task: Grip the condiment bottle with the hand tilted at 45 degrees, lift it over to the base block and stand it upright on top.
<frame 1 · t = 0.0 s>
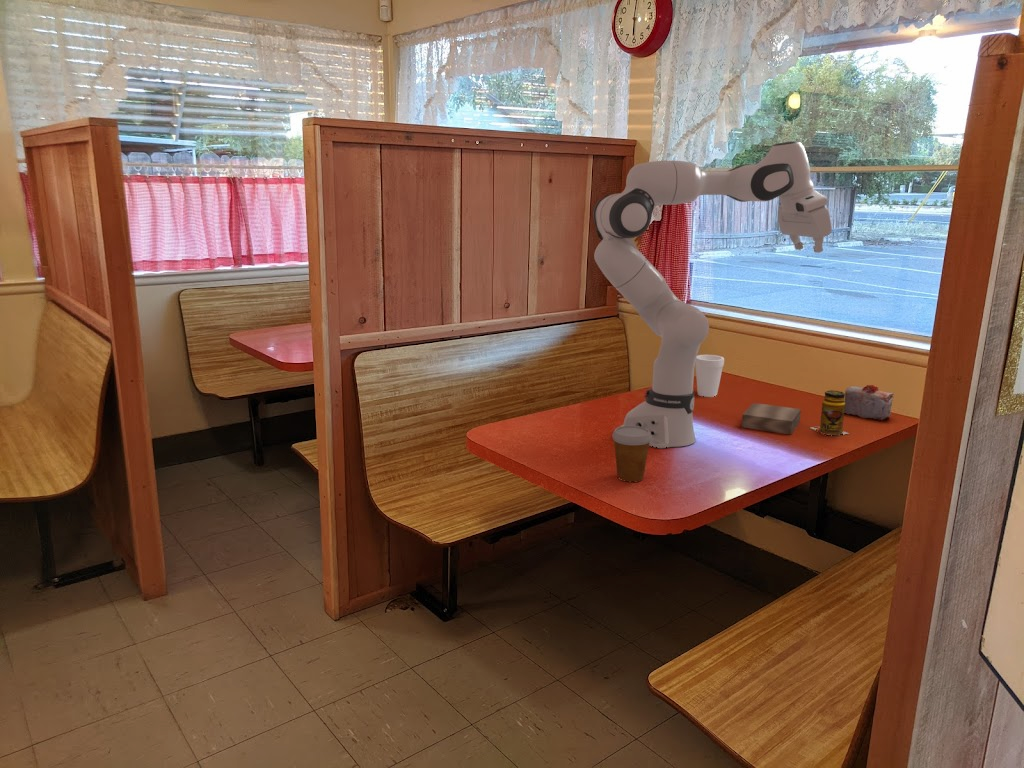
hand: (808, 250, 205), 52 cm above the table, tool tilted 20°, fingers open, 8 cm apart
base: (770, 424, 224), on the table
disposable coffee cup: (630, 478, 183), on the table
food item: (866, 416, 233), on the table
condiment: (829, 431, 218), on the table
foam cup: (707, 395, 257), on the table
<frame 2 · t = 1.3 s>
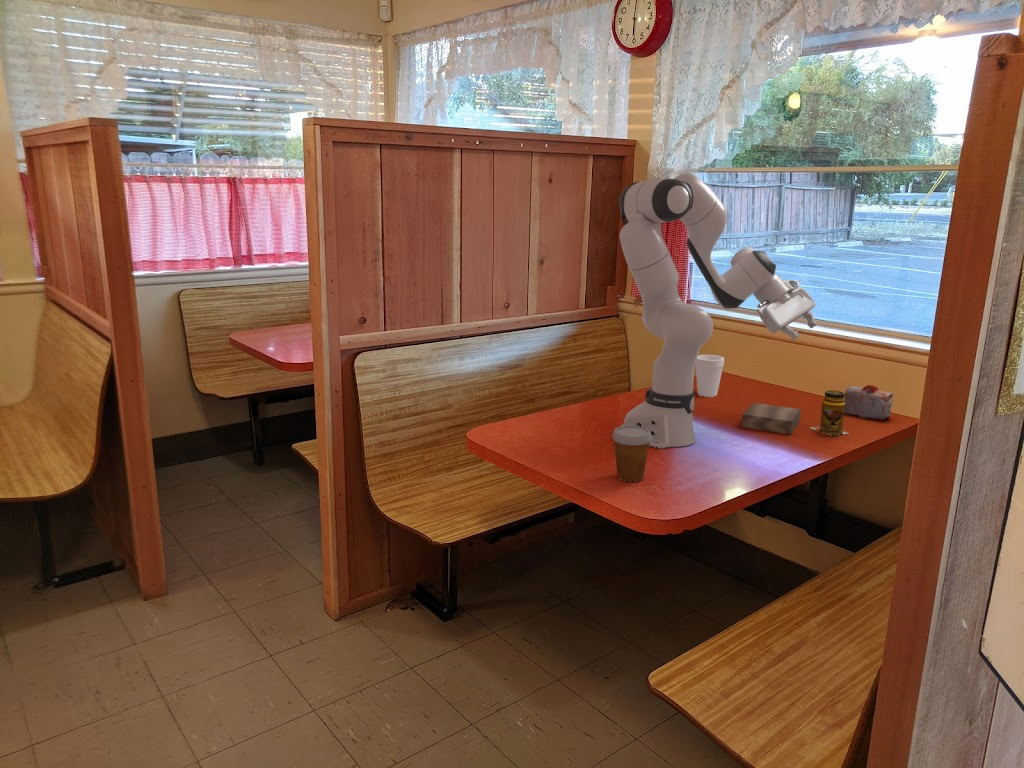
hand: (805, 332, 215), 29 cm above the table, tool tilted 45°, fingers open, 8 cm apart
nothing on the table moved.
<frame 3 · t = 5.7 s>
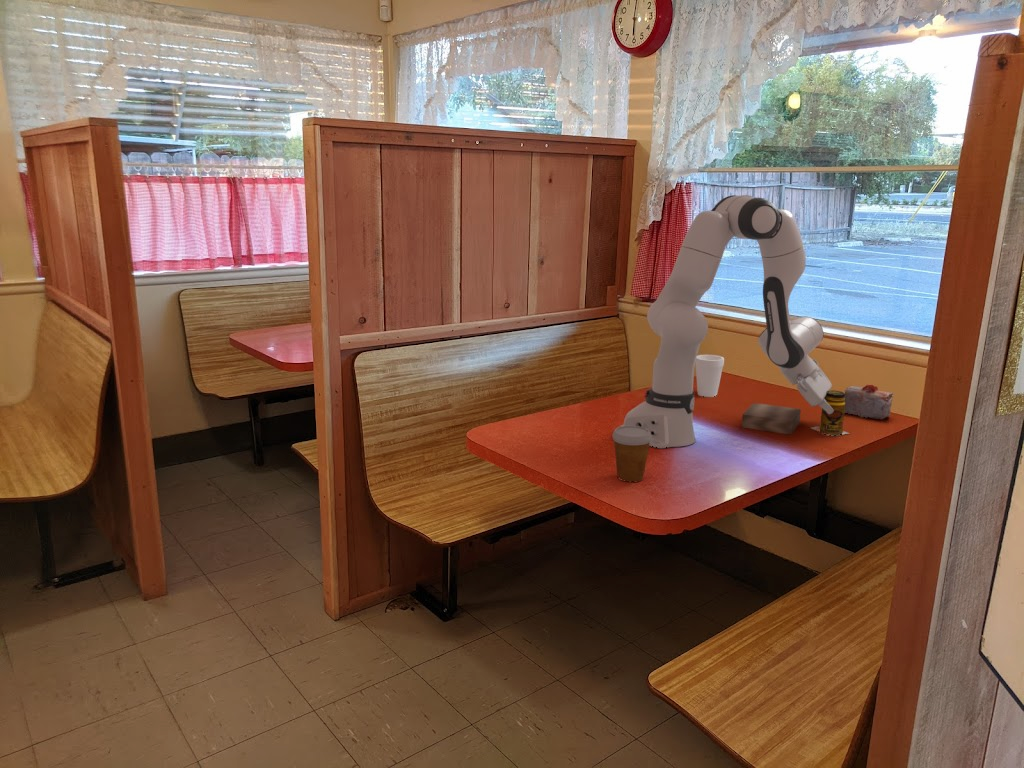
hand: (834, 408, 216), 7 cm above the table, tool tilted 45°, fingers open, 7 cm apart
condiment: (829, 431, 218), on the table, touching gripper
everything else where it was.
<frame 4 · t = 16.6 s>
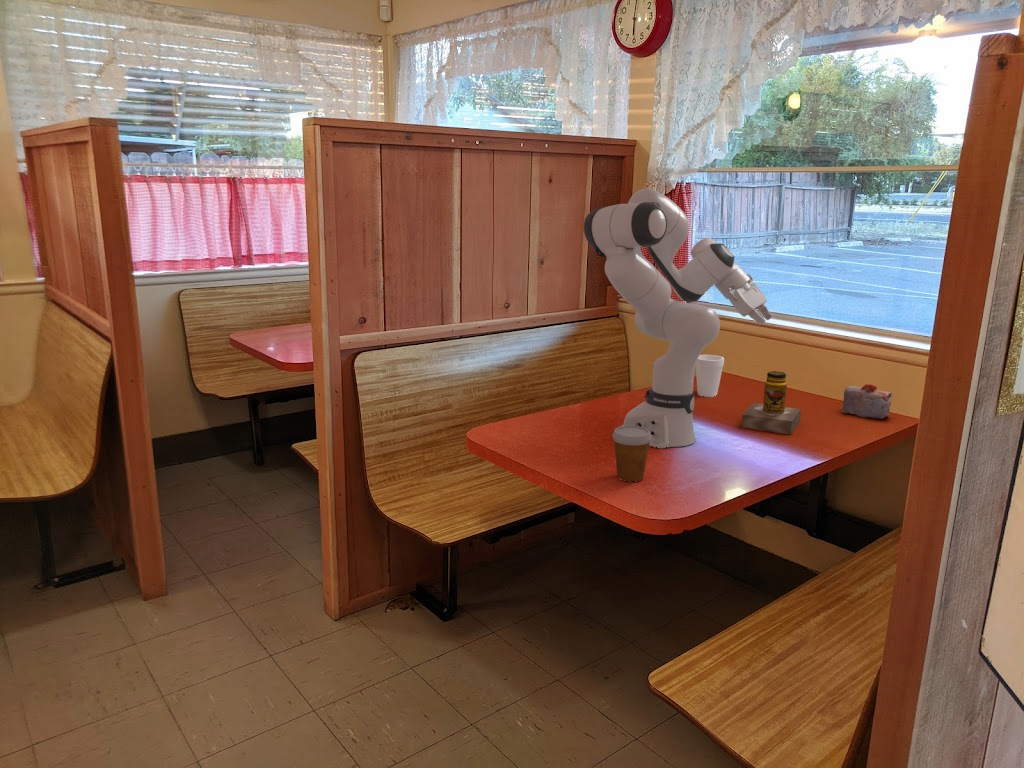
hand: (766, 321, 216), 31 cm above the table, tool tilted 45°, fingers open, 8 cm apart
condiment: (771, 411, 224), point 4 cm above the table, touching base
everything else where it was.
at the end: condiment inside the target area on the base (0.7 cm from its centre), point 3.8 cm above the base's base; condiment tilted 0°; the gripper is holding nothing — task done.
